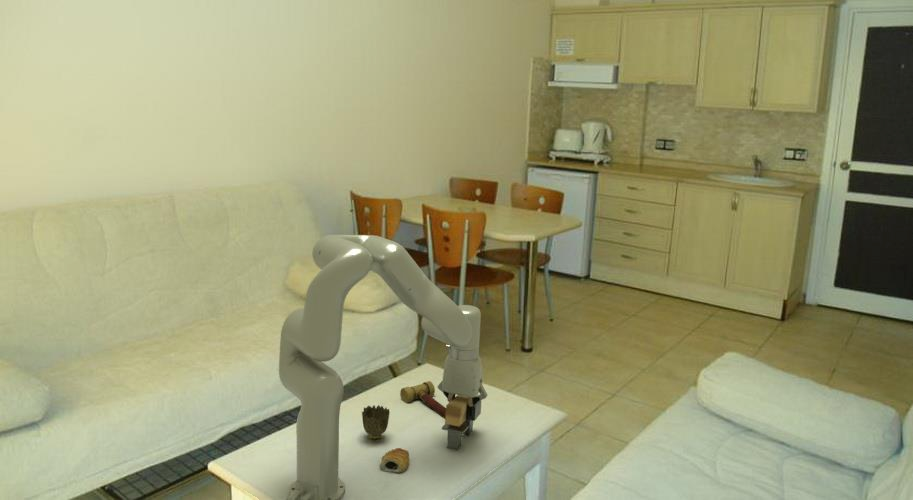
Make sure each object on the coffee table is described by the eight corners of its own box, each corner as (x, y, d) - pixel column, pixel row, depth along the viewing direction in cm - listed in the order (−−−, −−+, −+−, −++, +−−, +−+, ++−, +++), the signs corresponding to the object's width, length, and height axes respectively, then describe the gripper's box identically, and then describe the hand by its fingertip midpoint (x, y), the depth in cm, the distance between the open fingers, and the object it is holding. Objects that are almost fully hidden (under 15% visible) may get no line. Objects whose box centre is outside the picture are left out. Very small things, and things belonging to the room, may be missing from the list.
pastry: (389, 453, 186) (390, 439, 185) (414, 457, 185) (415, 444, 184) (378, 471, 177) (378, 457, 176) (404, 476, 176) (404, 462, 175)
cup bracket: (473, 439, 195) (475, 407, 193) (451, 434, 197) (453, 402, 195) (479, 431, 200) (481, 399, 197) (458, 426, 202) (459, 395, 200)
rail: (459, 426, 185) (460, 408, 185) (444, 423, 187) (446, 405, 186) (474, 410, 197) (475, 393, 196) (460, 407, 198) (462, 390, 197)
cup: (384, 446, 189) (384, 418, 187) (357, 442, 190) (358, 415, 188) (392, 433, 196) (393, 406, 194) (366, 429, 197) (367, 403, 195)
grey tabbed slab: (461, 452, 187) (463, 432, 186) (440, 447, 189) (441, 427, 188) (467, 446, 191) (468, 425, 190) (446, 441, 193) (447, 420, 192)
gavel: (468, 408, 207) (440, 417, 201) (467, 422, 208) (439, 431, 202) (427, 378, 222) (400, 385, 216) (426, 391, 224) (399, 399, 218)
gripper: (429, 351, 187) (426, 415, 192) (490, 362, 182) (485, 428, 186) (440, 342, 194) (437, 404, 199) (499, 353, 189) (494, 416, 193)
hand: (460, 415), depth 192 cm, fingers closed on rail, 4 cm apart
